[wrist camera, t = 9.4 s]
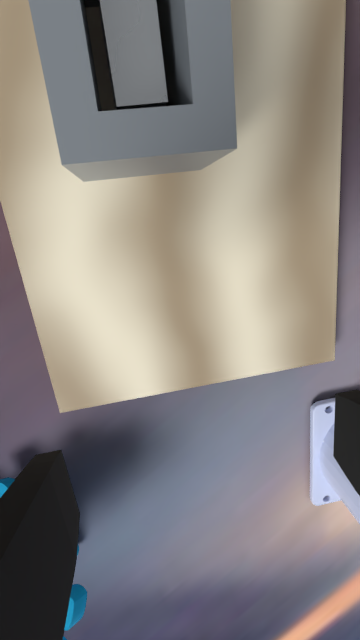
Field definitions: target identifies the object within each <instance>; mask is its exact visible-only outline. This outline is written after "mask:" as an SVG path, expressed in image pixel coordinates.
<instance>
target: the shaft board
mask: <svg viewBox="0 0 360 640" xmlns="http://www.w3.org/2000/svg"><path fill="white" fill-rule="evenodd" d="M230 1H231V23H232V45H233V66H234V88H235V110H236V131H237V149H235V150H234V151H232V152H230V153H229V154H227V155H225V156H224V157H222V158H220V159H219V160H217V161H215V162H213V163H212V164H210V165H208V166H207V167H205V168H203V169H202V170H196V171H186V172H176V173H167V174H157V175H147V176H137V177H127V178H117V179H107V180H97V181H87V182H83V181H82V180H81V179H79V178H78V177H77V176H75V175H74V174H73V173H71V172H70V171H69V170H68V169H66V168H65V167H64V166H62V164H61V159H60V154H59V149H58V144H57V139H56V134H55V129H54V125H53V120H52V115H51V110H50V105H49V100H48V95H47V90H46V85H45V80H44V75H43V70H42V65H41V60H40V55H39V51H38V46H37V41H36V36H35V31H34V26H33V21H32V16H31V11H30V6H29V1H28V0H0V201H1V204H2V208H3V212H4V215H5V219H6V222H7V226H8V229H9V233H10V236H11V240H12V243H13V247H14V251H15V254H16V258H17V261H18V265H19V268H20V272H21V275H22V279H23V283H24V286H25V290H26V293H27V297H28V300H29V304H30V307H31V311H32V315H33V318H34V322H35V325H36V329H37V332H38V336H39V339H40V343H41V346H42V350H43V354H44V357H45V361H46V364H47V368H48V371H49V375H50V378H51V382H52V386H53V389H54V393H55V396H56V400H57V403H58V407H59V410H60V413H62V412H67V411H73V410H78V409H83V408H88V407H93V406H99V405H104V404H109V403H114V402H120V401H125V400H130V399H135V398H140V397H146V396H151V395H156V394H161V393H167V392H172V391H177V390H182V389H187V388H193V387H198V386H203V385H208V384H213V383H219V382H224V381H229V380H234V379H240V378H245V377H250V376H255V375H260V374H266V373H271V372H276V371H281V370H287V369H292V368H297V367H302V366H307V365H313V364H318V363H323V362H328V361H334V360H335V331H336V299H337V267H338V235H339V204H340V172H341V140H342V108H343V76H344V44H345V12H346V0H230ZM85 9H86V16H87V22H88V28H89V34H90V41H91V47H92V53H93V59H94V66H95V72H96V78H97V85H98V91H99V97H100V103H101V110H102V111H111V110H115V106H114V100H113V93H112V87H111V81H110V75H109V69H108V63H107V56H106V50H105V44H104V38H103V32H102V26H101V18H100V10H99V7H85Z"/></svg>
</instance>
